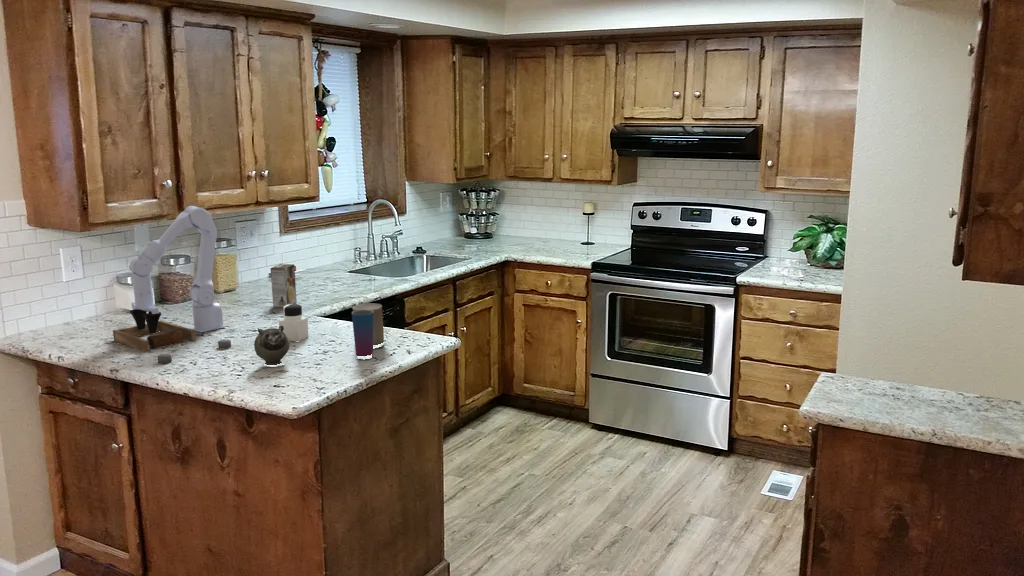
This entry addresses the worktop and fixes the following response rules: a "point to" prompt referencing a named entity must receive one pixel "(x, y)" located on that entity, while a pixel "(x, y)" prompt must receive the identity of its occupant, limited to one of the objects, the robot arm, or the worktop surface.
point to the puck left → (164, 358)
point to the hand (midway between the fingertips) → (147, 330)
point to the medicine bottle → (294, 323)
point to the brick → (165, 338)
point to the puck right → (224, 343)
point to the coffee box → (283, 285)
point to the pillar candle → (374, 320)
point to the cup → (363, 331)
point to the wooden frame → (131, 333)
